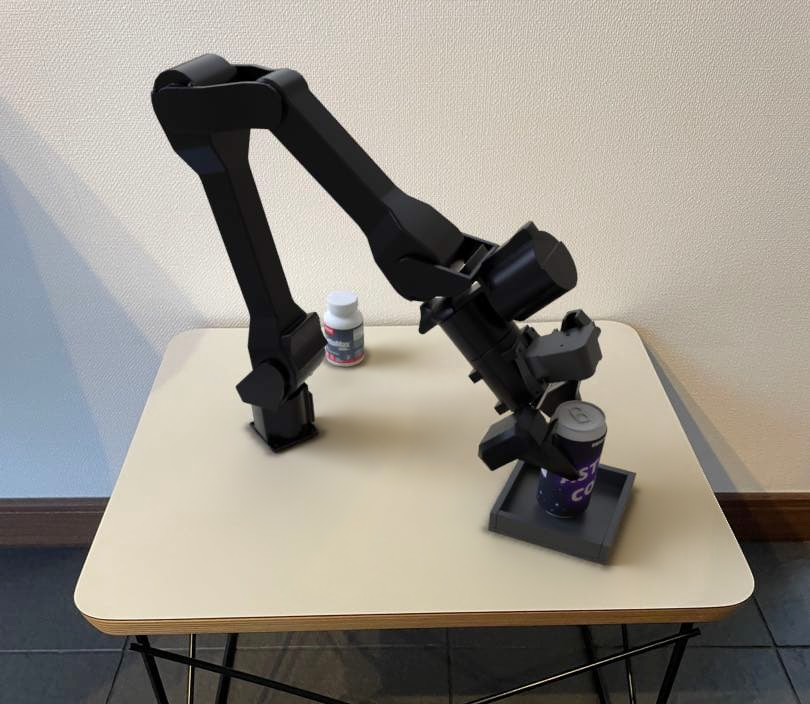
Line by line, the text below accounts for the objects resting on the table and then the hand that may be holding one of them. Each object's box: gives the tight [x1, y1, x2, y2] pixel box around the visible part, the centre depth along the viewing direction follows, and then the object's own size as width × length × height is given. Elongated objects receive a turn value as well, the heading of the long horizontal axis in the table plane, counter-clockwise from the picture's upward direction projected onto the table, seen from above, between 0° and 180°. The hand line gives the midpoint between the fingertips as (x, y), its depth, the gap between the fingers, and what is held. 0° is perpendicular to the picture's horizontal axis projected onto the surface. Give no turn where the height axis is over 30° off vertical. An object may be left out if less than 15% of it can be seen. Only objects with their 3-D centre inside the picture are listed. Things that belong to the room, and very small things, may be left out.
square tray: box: [487, 459, 637, 566], centre depth 83 cm, size 13×13×3 cm
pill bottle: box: [323, 290, 365, 367], centre depth 102 cm, size 5×5×9 cm
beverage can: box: [536, 400, 608, 518], centre depth 79 cm, size 6×6×12 cm
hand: (584, 461), depth 78 cm, fingers closed on beverage can, 6 cm apart
